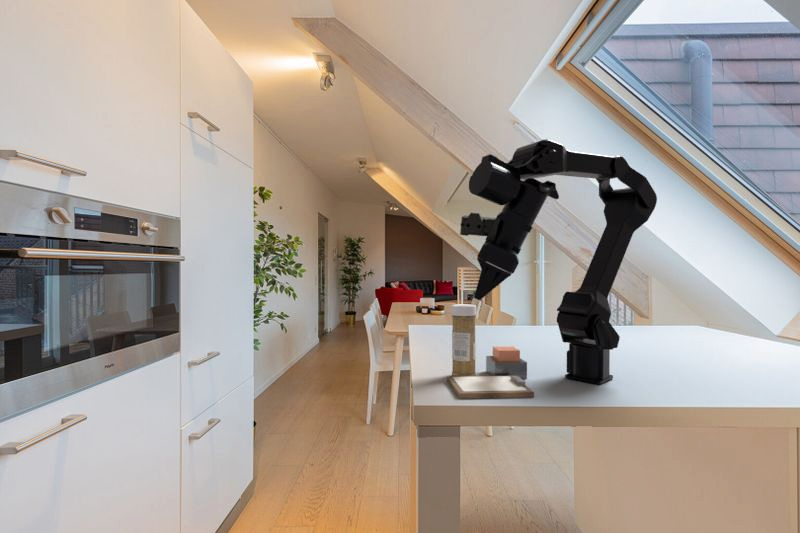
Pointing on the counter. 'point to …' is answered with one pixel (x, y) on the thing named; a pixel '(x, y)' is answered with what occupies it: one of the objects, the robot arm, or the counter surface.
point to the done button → (506, 354)
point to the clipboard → (489, 387)
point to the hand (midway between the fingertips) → (478, 292)
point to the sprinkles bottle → (463, 340)
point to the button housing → (506, 368)
